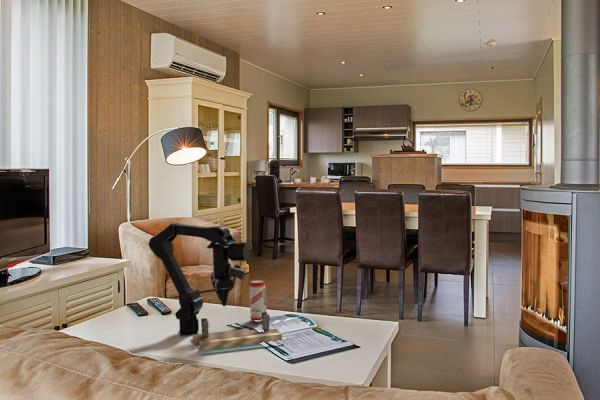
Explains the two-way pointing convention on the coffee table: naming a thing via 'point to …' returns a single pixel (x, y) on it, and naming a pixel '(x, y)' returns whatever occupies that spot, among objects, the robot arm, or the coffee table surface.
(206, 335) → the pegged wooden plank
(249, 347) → the teal mat
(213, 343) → the oak rail
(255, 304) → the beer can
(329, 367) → the coffee table surface
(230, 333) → the walnut board
